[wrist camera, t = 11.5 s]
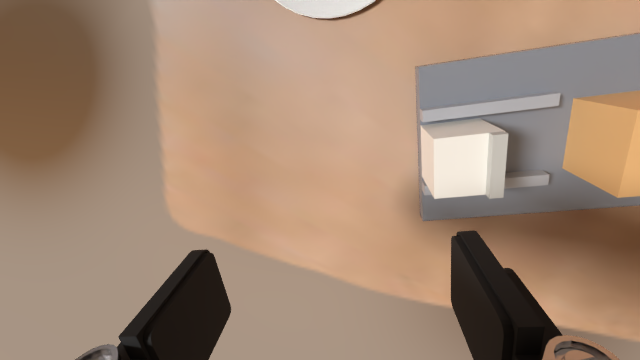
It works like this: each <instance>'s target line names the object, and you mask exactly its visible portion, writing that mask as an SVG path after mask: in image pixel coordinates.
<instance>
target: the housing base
mask: <svg viewBox="0 0 640 360" xmlns="http://www.w3.org/2000/svg"><path fill="white" fill-rule="evenodd" d="M415 72H416V103H417V135H418V166H419V198H420V215H421V218H422V220H423V221H430V220H444V219H458V218H471V217H485V216H499V215H513V214H527V213H541V212H555V211H568V210H582V209H596V208H610V207H624V206H638V205H640V196H635V197H621V198H617V197H615V196H613V195H611V194H610V193H608V192H606V191H604V190H602V189H600V188H598V187H596V186H595V185H593V184H591V183H589V182H587V181H585V180H583V179H581V178H580V177H578V176H576V175H574V174H572V173H570V172H568V171H566V170H565V169H563V168H562V167H563V161H564V154H565V148H566V142H567V135H568V129H569V122H570V116H571V110H572V103H573V98H581V97H589V96H597V95H605V94H614V93H622V92H630V91H638V90H640V33H634V34H628V35H621V36H615V37H608V38H601V39H595V40H588V41H582V42H575V43H568V44H562V45H555V46H548V47H542V48H535V49H529V50H522V51H515V52H509V53H502V54H496V55H489V56H482V57H476V58H469V59H463V60H456V61H449V62H443V63H436V64H429V65H423V66H416V67H415ZM478 118H480V119H482V120H484V121H486V122H488V123H490V124H492V125H494V126H496V127H498V128H500V129H502V130H504V131H505V132H506V133H508V146H507V158H506V171H505V183H504V196H503V198H492V199H489V198H488V197H487V196H486V195H475V196H463V197H451V198H439V199H434V197H433V195H432V194H431V192H430V190H429V188H428V187H427V185H426V183H425V181H424V179H423V178H422V162H421V127H420V125H428V124H436V123H445V122H453V121H461V120H469V119H478Z"/></svg>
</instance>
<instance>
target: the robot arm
mask: <svg viewBox="0 0 640 360" xmlns="http://www.w3.org/2000/svg"><path fill="white" fill-rule="evenodd" d="M451 302H452V306H453V309H454V312H455V314H456V317H457V319H458V322H459V324H460V326H461V329H462V332H463V334H464V336H465V339H466V342H467V344H468V347H469V349H470V352H471V354H472V357H473V359H474V360H619V359H618V358H617V357H616V356H615V355H614V354H613V353H611V352H610V351H608V350H607V349H605V348H604V347H602V346H601V345H598V344H596V343H594V342H592V341H590V340H587V339H584V338H580V337H577V336H567V335H564V336H563V335H562V334H561V333H560V331H559V330H558V329H557V327H556V326H555V325H554V323H553V322H552V321H551V319H550V318H549V317H548V315H547V314H546V313H545V311H544V310H543V309H542V307H541V306H540V305H539V304H538V302H537V301H536V300H535V298H534V297H533V296H532V294H531V293H530V292H529V290H528V289H527V288H526V286H525V285H524V284H523V282H522V281H521V280H520V278H519V277H518V276H517V274H516V273H515V272H514V271H513V270H512V269H510V268H503V267H502V266H501V265H500V263H499V262H498V261H497V259H496V258H495V256H494V255H493V254H492V252H491V251H490V249H489V248H488V247H487V245H486V244H485V242H484V241H483V240H482V238H481V237H480V235H479V234H478V233H477V231H461V232H457V236H452V238H451ZM230 313H231V307H230V303H229V300H228V296H227V293H226V290H225V287H224V284H223V281H222V278H221V275H220V272H219V269H218V266H217V263H216V260H215V257H214V255H213V254H212V253H210V252H209V251H208V250H194V251H191V252H190V253H189V254H188V255H187V257H186V258H185V259H184V260H183V261H182V263H181V264H180V265H179V266H178V267H177V268H176V270H175V271H174V272H173V273H172V274H171V275H170V277H169V278H168V279H167V280H166V281H165V282H164V284H163V285H162V286H161V287H160V288H159V290H158V291H157V292H156V293H155V294H154V296H153V297H152V298H151V299H150V300H149V301H148V302H147V304H146V305H145V306H144V307H143V308H142V309H141V311H140V312H139V313H138V314H137V316H136V317H135V318H134V319H133V320H132V321H131V323H130V324H129V325H128V326H127V327H126V328H125V330H124V331H123V332H122V333H121V334H120V335H119V339H120V341H121V343H120V344H119V345H118V347H115V346H114V345H110V344H107V345H101V346H98V347H96V348H93V349H91V350H89V351H87V352H86V353H84V354H82V355H81V356H80V357H78V358H77V359H75V360H208V359H209V357H210V355H211V353H212V351H213V349H214V347H215V345H216V343H217V341H218V339H219V337H220V335H221V333H222V331H223V329H224V326H225V324H226V322H227V320H228V318H229V316H230Z"/></svg>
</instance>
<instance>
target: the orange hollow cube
mask: <svg viewBox="0 0 640 360" xmlns="http://www.w3.org/2000/svg"><path fill="white" fill-rule="evenodd" d="M562 168H563V169H565V170H566V171H568V172H570V173H572V174H574V175H576V176H578V177H580V178H581V179H583V180H585V181H587V182H589V183H591V184H593V185H595V186H596V187H598V188H600V189H602V190H604V191H606V192H608V193H610V194H611V195H613V196H615V197H617V198H621V197H635V196H640V90H638V91H630V92H622V93H614V94H605V95H597V96H589V97H581V98H573V103H572V110H571V116H570V122H569V129H568V135H567V142H566V148H565V154H564V161H563V167H562Z"/></svg>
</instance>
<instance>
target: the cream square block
mask: <svg viewBox="0 0 640 360" xmlns="http://www.w3.org/2000/svg"><path fill="white" fill-rule="evenodd" d="M420 127H421V162H422V178H423V179H424V181H425V183H426V185H427V187H428V188H429V190H430V192H431V194H432V195H433V197H434V199H439V198H451V197H463V196H475V195H486V196H487V197H488V198H489V199H492V198H503V196H504V183H505V171H506V158H507V146H508V133H506V132H505V131H504V130H502V129H500V128H498V127H496V126H494V125H492V124H490V123H488V122H486V121H484V120H482V119H480V118H478V119H469V120H461V121H453V122H445V123H436V124H428V125H420Z"/></svg>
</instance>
